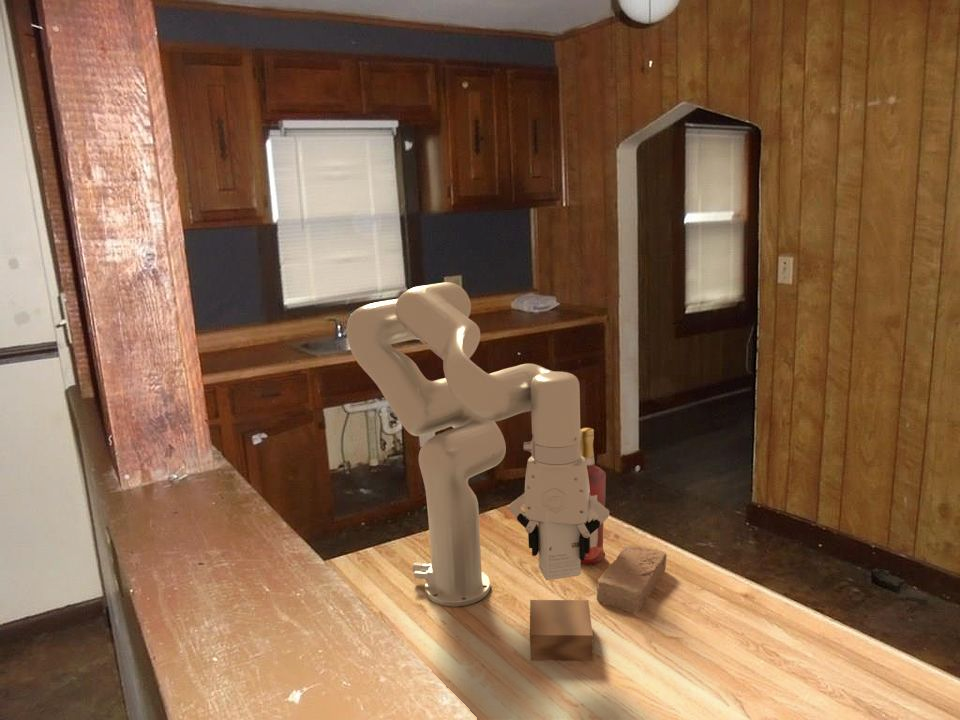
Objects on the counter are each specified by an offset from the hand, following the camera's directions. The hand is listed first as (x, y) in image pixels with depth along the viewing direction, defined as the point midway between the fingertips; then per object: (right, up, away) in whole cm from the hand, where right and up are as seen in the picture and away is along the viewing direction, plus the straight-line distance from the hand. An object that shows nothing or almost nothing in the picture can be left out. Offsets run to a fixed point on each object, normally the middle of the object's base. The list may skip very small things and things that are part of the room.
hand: (559, 553), depth 113 cm
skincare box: (0, -3, +1) cm, 3 cm away
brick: (+16, -12, +20) cm, 28 cm away
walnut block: (+1, -16, +4) cm, 17 cm away
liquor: (+9, -10, +30) cm, 33 cm away
